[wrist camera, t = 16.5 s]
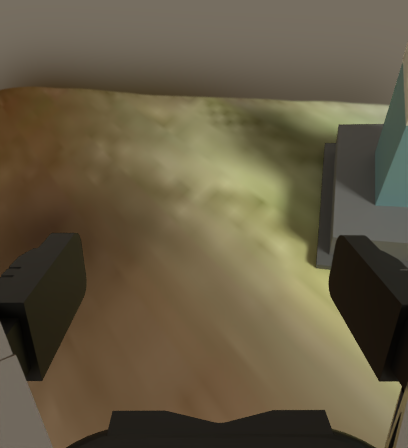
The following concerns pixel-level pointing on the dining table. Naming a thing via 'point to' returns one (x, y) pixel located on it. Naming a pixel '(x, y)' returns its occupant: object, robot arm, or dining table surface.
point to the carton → (394, 147)
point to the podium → (357, 197)
